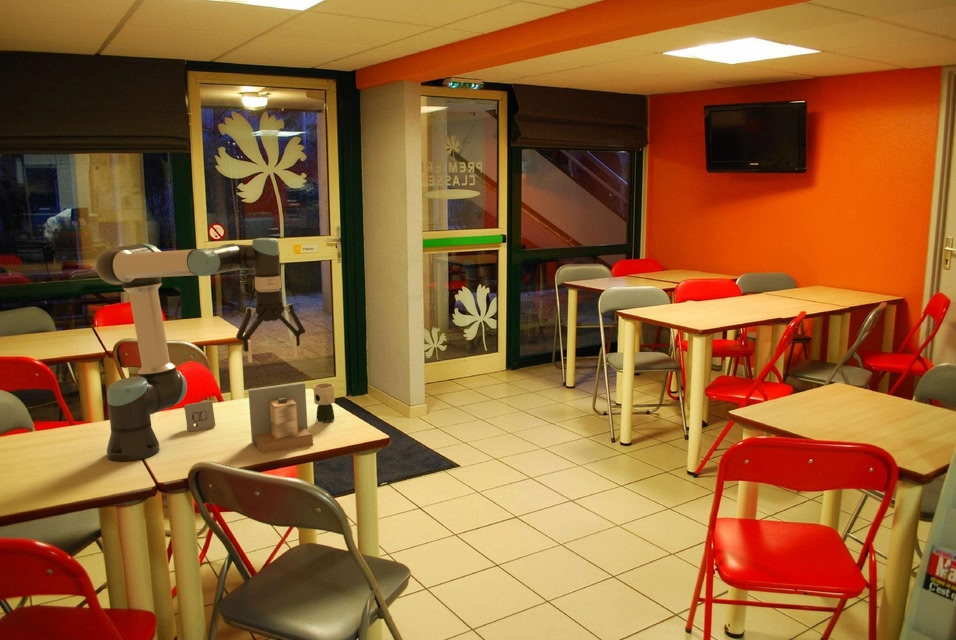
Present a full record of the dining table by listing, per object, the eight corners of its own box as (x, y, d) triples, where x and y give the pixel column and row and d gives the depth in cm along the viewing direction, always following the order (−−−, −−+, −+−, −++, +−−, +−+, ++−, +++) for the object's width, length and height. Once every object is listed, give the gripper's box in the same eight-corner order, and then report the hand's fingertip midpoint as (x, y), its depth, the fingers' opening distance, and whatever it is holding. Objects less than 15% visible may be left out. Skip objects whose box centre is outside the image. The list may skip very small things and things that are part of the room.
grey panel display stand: (259, 453, 244) (256, 398, 240) (251, 442, 254) (248, 389, 251) (316, 444, 252) (313, 390, 248) (306, 433, 262) (303, 382, 259)
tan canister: (276, 440, 247) (274, 403, 245) (271, 433, 254) (269, 397, 251) (298, 436, 250) (296, 400, 248) (292, 430, 257) (290, 394, 254)
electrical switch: (187, 432, 265) (185, 406, 264) (184, 430, 269) (182, 403, 268) (216, 428, 270) (213, 401, 269) (212, 425, 274) (210, 399, 273)
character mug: (312, 418, 279) (310, 383, 277) (331, 415, 282) (329, 380, 280) (319, 426, 269) (317, 390, 267) (339, 423, 272) (337, 387, 270)
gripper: (227, 295, 224) (232, 366, 228) (312, 288, 235) (316, 356, 239) (223, 291, 230) (228, 361, 234) (306, 285, 242) (309, 352, 246)
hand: (272, 359), depth 237 cm, fingers open, 13 cm apart
